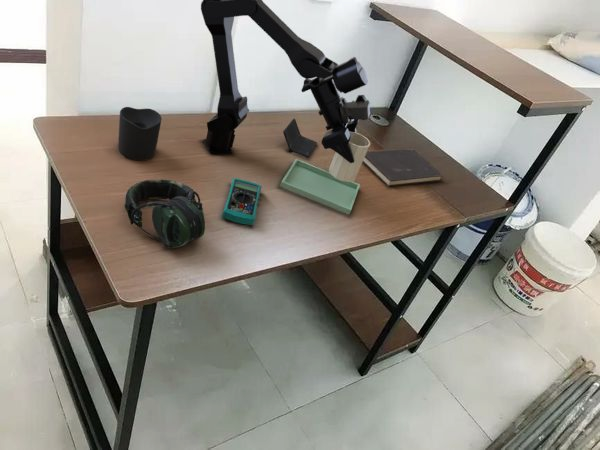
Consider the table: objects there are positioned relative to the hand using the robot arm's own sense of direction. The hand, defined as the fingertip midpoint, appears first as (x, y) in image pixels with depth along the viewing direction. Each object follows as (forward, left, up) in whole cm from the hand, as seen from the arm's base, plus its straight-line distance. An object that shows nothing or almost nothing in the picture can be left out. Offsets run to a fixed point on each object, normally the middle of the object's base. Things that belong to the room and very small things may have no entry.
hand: (355, 156), depth 131 cm
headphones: (-49, -4, -13) cm, 51 cm away
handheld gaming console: (+1, +25, -13) cm, 28 cm away
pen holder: (-47, +24, -13) cm, 54 cm away
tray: (-4, +4, -13) cm, 14 cm away
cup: (-1, +1, -6) cm, 6 cm away
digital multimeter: (-29, 0, -13) cm, 32 cm away
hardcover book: (+31, +11, -13) cm, 35 cm away
